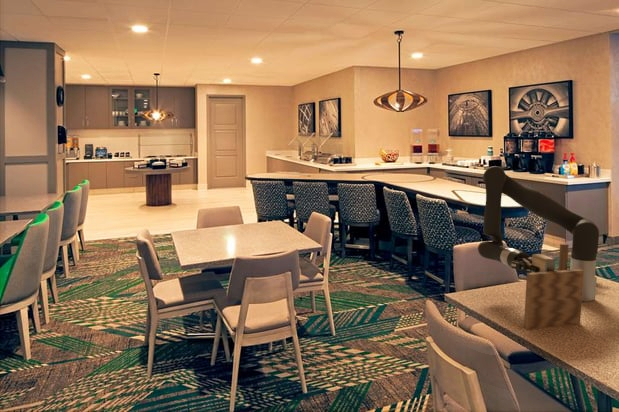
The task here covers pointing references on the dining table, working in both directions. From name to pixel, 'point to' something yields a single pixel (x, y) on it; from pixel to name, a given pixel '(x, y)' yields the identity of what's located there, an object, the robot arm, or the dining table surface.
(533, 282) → the zigzag wooden panel
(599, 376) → the dining table surface
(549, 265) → the rail end
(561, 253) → the wooden block
